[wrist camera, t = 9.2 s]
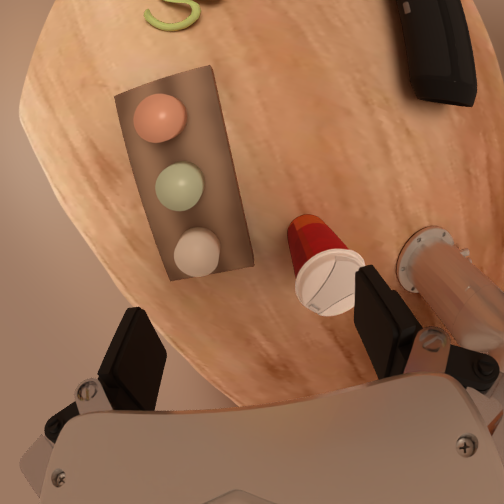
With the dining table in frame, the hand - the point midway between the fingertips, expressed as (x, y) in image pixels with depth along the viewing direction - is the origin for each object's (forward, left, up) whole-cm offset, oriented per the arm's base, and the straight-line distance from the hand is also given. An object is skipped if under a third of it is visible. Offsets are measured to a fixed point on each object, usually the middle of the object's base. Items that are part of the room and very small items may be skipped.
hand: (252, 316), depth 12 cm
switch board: (+7, -2, -26) cm, 27 cm away
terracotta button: (+7, -10, -22) cm, 25 cm away
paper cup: (-7, +9, -26) cm, 29 cm away
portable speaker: (-29, -21, -27) cm, 45 cm away
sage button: (+7, -2, -23) cm, 24 cm away
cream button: (+7, +6, -22) cm, 24 cm away
